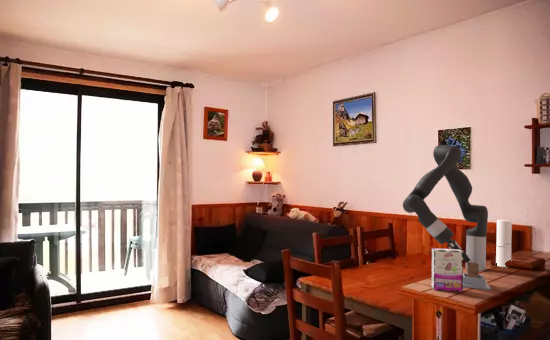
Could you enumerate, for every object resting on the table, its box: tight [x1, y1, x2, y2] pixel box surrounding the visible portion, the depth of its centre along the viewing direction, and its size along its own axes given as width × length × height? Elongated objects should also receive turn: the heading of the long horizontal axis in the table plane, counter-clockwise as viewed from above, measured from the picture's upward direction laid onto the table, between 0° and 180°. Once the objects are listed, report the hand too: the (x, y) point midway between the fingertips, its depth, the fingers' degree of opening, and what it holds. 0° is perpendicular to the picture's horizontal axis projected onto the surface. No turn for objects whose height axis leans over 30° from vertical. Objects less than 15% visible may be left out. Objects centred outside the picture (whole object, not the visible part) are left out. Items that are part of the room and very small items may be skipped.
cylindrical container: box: [495, 219, 513, 268], centre depth 215 cm, size 7×7×25 cm
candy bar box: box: [431, 247, 464, 293], centre depth 159 cm, size 11×5×16 cm, turn 80°
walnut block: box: [466, 262, 479, 278], centre depth 168 cm, size 4×4×8 cm
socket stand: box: [463, 272, 491, 291], centre depth 168 cm, size 12×12×4 cm
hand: (467, 259), depth 169 cm, fingers open, 8 cm apart
